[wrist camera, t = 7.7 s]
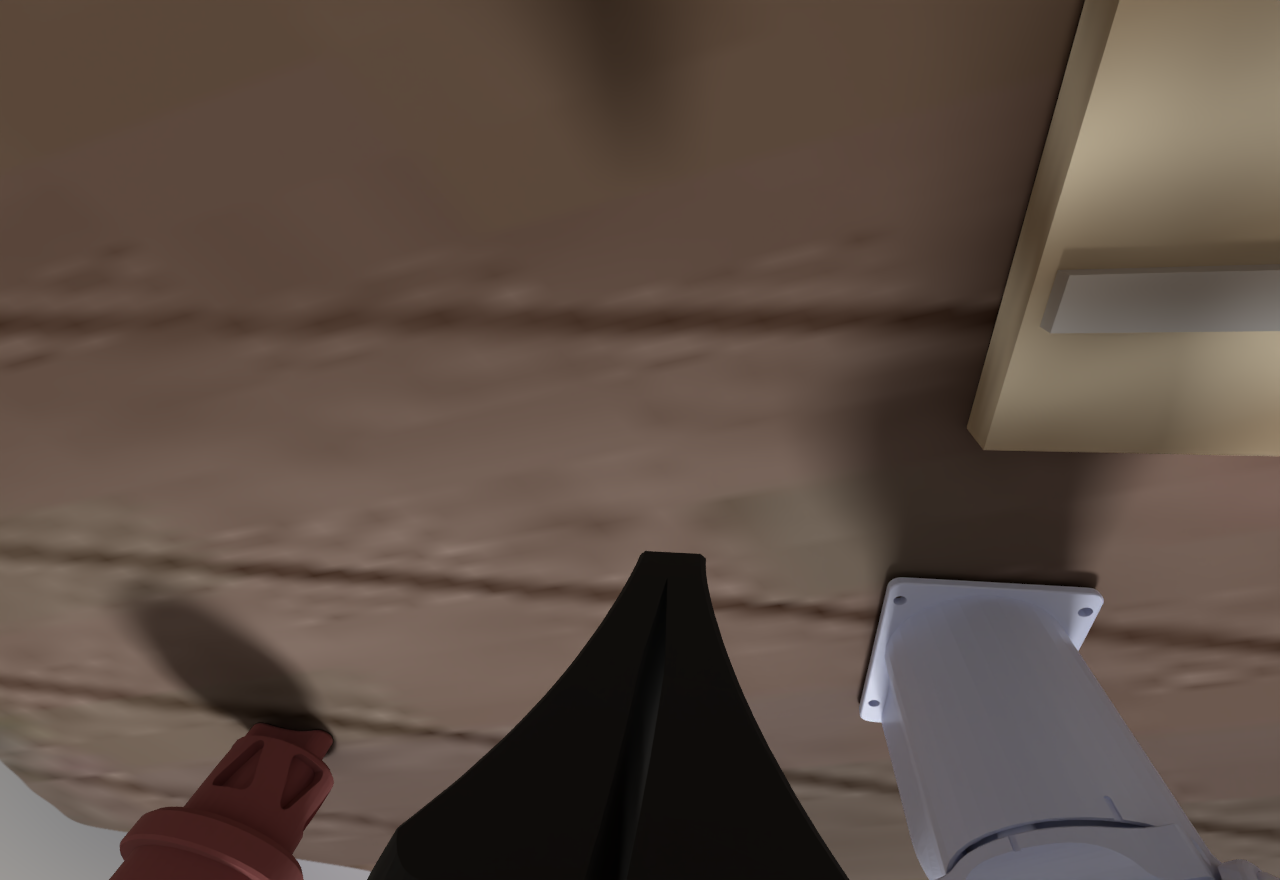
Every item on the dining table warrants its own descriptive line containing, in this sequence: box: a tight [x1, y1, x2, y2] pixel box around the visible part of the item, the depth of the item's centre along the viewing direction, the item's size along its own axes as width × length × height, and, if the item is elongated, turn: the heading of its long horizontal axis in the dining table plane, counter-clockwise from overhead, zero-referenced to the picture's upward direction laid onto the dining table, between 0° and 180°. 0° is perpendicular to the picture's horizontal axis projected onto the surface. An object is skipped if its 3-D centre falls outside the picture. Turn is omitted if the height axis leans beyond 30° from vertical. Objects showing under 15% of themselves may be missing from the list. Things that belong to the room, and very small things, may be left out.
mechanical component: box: [109, 723, 334, 880], centre depth 33 cm, size 12×10×10 cm
